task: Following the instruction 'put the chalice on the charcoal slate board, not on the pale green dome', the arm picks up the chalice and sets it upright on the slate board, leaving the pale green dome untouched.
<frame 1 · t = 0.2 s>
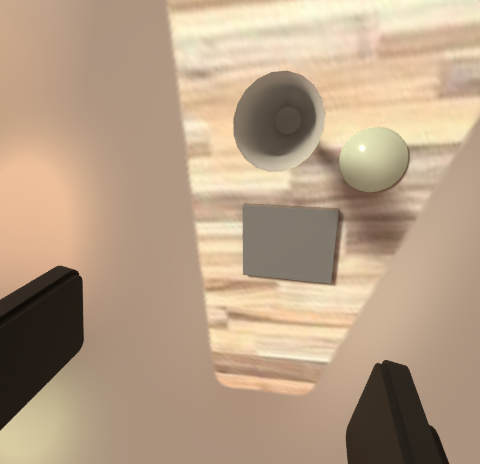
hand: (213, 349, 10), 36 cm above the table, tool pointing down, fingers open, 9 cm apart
slate board: (288, 242, 47), on the table
chalice: (294, 118, 41), on the table
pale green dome: (372, 159, 40), on the table
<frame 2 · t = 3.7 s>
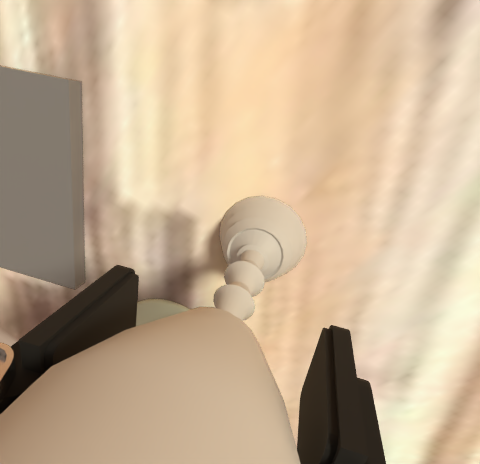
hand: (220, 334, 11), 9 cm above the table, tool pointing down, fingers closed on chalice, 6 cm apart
slate board: (8, 175, 21), on the table
chalice: (262, 237, 19), on the table, touching gripper
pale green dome: (168, 344, 23), on the table
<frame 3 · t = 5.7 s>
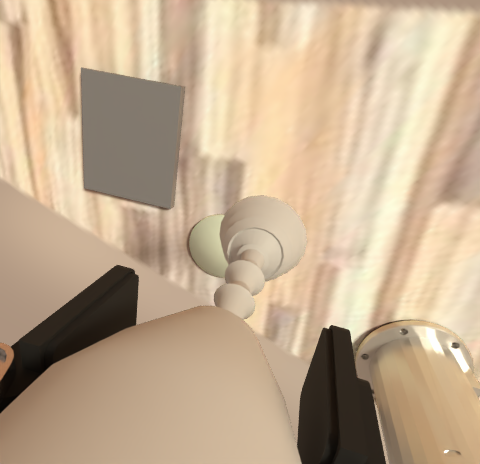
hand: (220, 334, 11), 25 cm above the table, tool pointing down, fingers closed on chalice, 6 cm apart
slate board: (132, 141, 36), on the table
chalice: (262, 237, 19), point 17 cm above the table, touching gripper
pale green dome: (223, 245, 38), on the table
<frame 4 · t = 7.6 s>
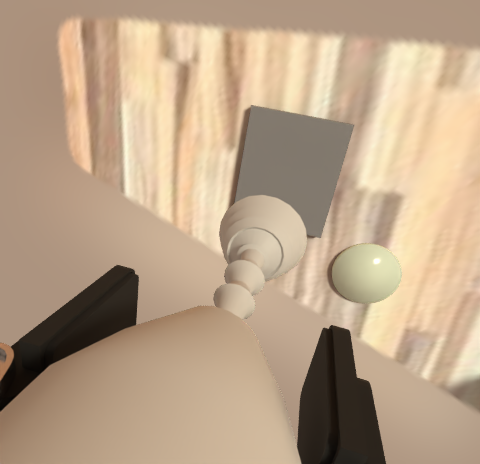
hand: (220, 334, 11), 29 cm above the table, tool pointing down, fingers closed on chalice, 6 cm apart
slate board: (288, 173, 37), on the table
chalice: (262, 236, 19), point 20 cm above the table, touching gripper
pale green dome: (365, 272, 40), on the table
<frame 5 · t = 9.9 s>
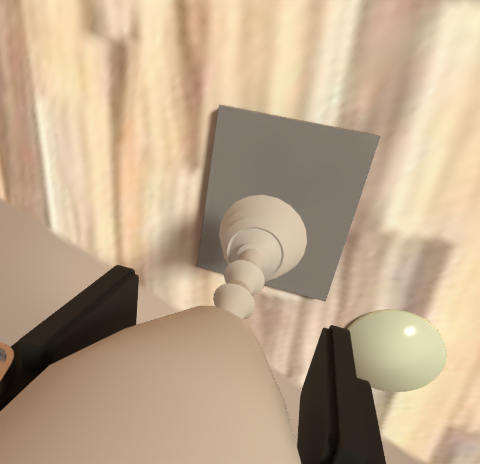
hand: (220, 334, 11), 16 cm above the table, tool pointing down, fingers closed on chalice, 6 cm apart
slate board: (277, 206, 25), on the table
chalice: (262, 236, 18), point 7 cm above the table, touching gripper
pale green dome: (389, 347, 27), on the table
when the fingers open (10 cm above the table, at t = 12.0 s): chalice stays where it is, resting on slate board.
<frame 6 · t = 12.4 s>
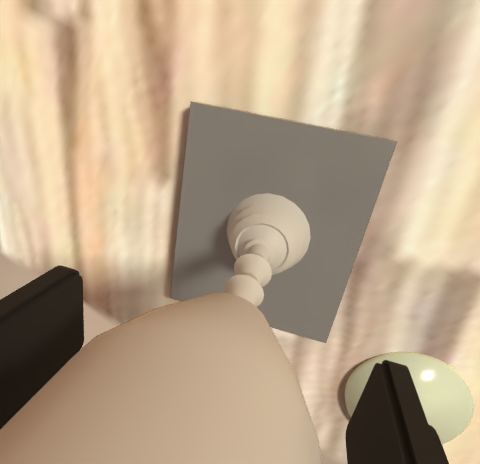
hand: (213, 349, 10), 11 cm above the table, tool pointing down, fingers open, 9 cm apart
slate board: (266, 227, 20), on the table
chalice: (267, 233, 19), point 1 cm above the table, touching slate board
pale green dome: (403, 395, 23), on the table
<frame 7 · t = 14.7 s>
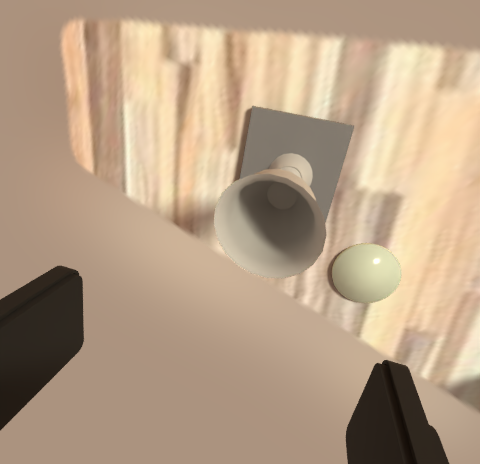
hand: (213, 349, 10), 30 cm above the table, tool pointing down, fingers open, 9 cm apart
slate board: (288, 173, 37), on the table
chalice: (290, 175, 37), point 1 cm above the table, touching slate board
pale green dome: (364, 271, 40), on the table
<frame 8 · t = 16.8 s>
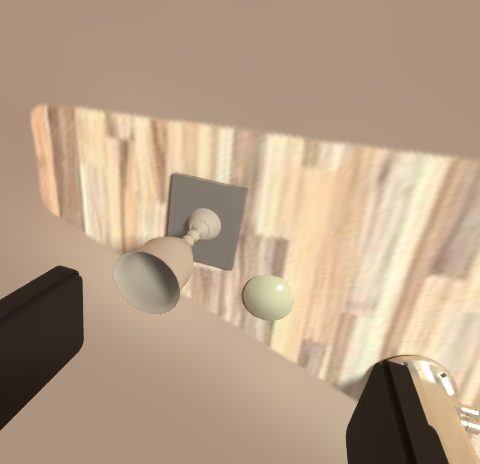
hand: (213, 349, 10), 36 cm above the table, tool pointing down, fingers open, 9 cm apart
slate board: (205, 221, 49), on the table
chalice: (205, 224, 48), point 1 cm above the table, touching slate board
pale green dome: (268, 296, 51), on the table
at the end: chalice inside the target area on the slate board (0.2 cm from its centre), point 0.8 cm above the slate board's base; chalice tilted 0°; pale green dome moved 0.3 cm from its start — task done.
